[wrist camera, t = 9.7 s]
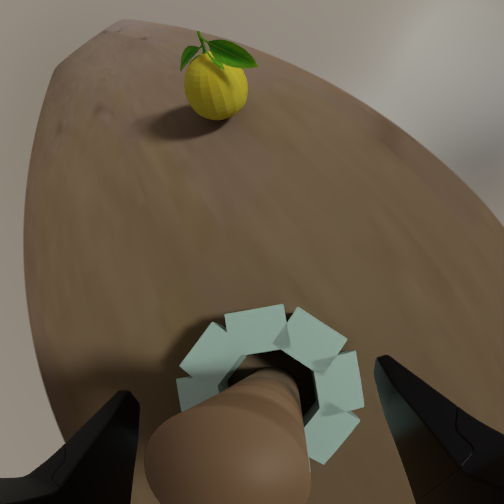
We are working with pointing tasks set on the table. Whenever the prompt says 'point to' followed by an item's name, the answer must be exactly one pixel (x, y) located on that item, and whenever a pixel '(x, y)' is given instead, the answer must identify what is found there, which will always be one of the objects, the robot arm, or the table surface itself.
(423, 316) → the table surface
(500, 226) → the table surface
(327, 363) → the ring
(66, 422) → the table surface
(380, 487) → the table surface
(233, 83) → the lemon
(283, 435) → the dowel
